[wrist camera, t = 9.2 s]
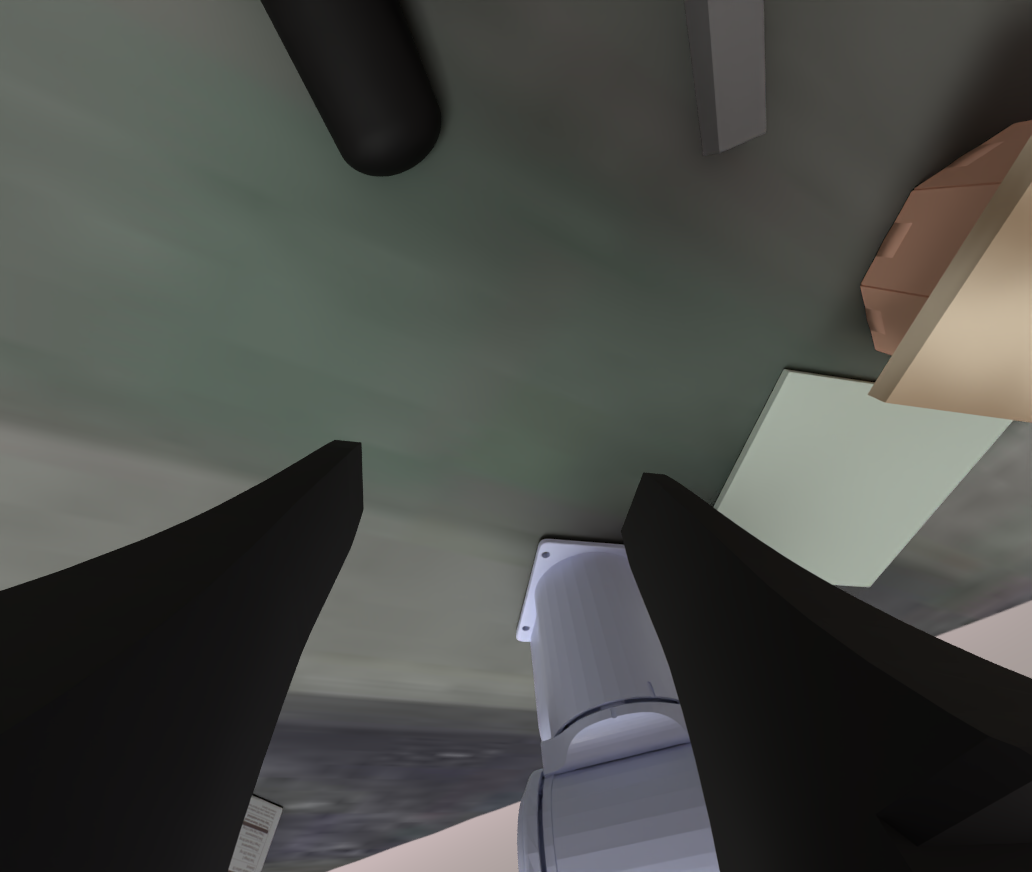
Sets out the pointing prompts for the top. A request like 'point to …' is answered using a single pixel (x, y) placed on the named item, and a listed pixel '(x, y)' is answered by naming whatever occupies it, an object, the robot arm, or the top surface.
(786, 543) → the mat
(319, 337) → the top surface
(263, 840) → the supplement box
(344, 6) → the door handle
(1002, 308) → the lid
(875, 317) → the bowl
